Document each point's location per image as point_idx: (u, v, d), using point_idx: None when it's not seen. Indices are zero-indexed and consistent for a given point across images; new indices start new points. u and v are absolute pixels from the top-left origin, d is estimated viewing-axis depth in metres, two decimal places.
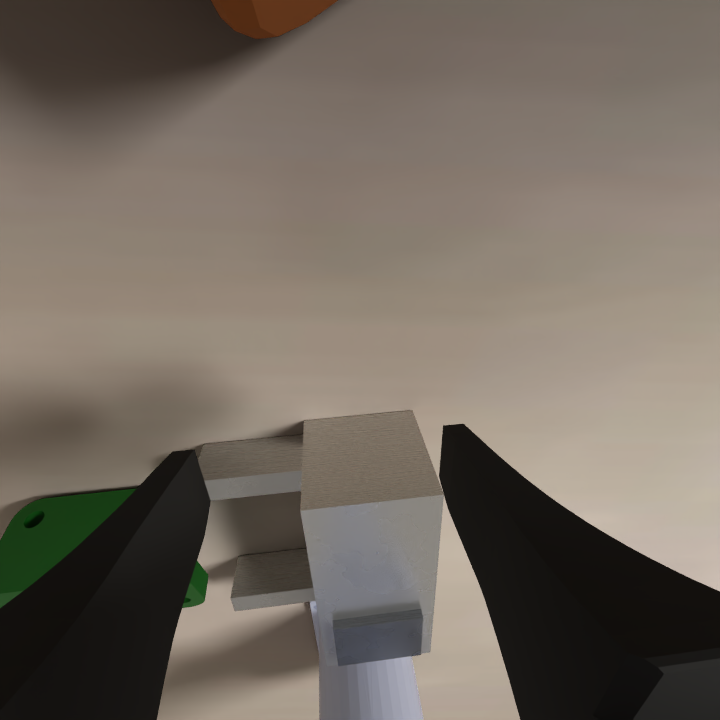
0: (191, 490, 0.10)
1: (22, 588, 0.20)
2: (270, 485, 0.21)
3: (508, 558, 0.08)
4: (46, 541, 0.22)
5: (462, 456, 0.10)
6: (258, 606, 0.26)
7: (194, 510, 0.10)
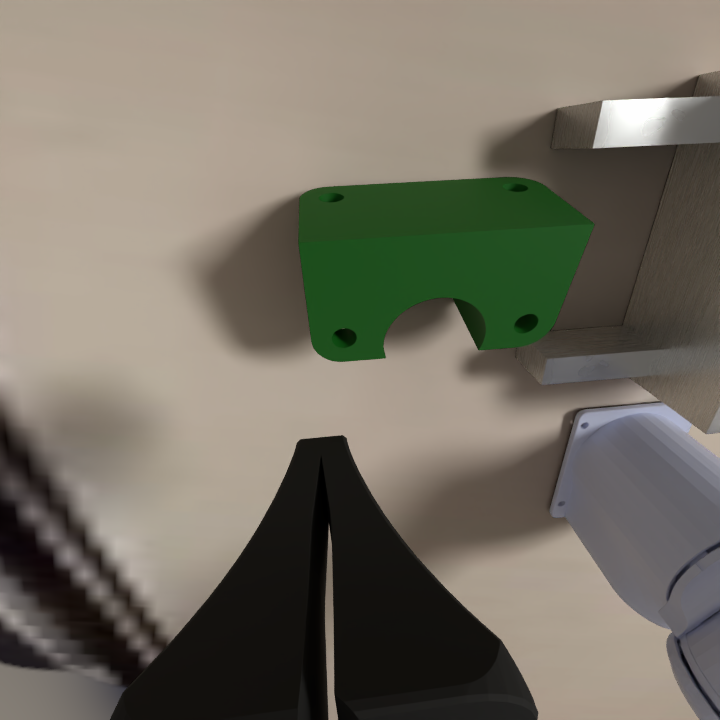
0: (324, 476, 0.11)
1: (372, 236, 0.13)
2: (701, 123, 0.15)
3: None
4: (368, 209, 0.15)
5: (323, 471, 0.10)
6: (573, 378, 0.20)
7: (325, 496, 0.11)
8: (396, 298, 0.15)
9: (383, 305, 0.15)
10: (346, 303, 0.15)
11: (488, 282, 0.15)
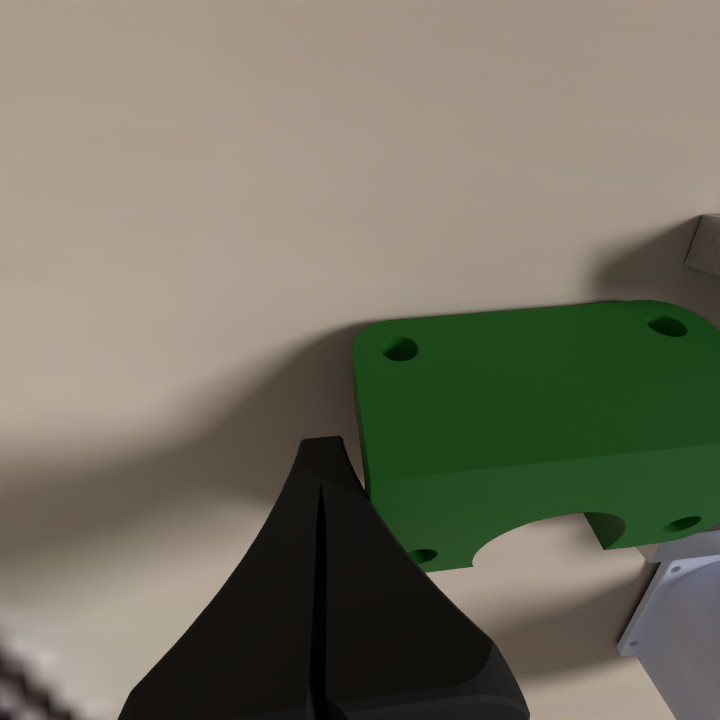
0: None
1: (490, 462, 0.08)
2: None
3: None
4: (463, 381, 0.10)
5: (319, 471, 0.10)
6: (691, 555, 0.15)
7: None
8: (508, 519, 0.10)
9: (485, 526, 0.10)
10: (431, 529, 0.10)
11: (650, 494, 0.10)
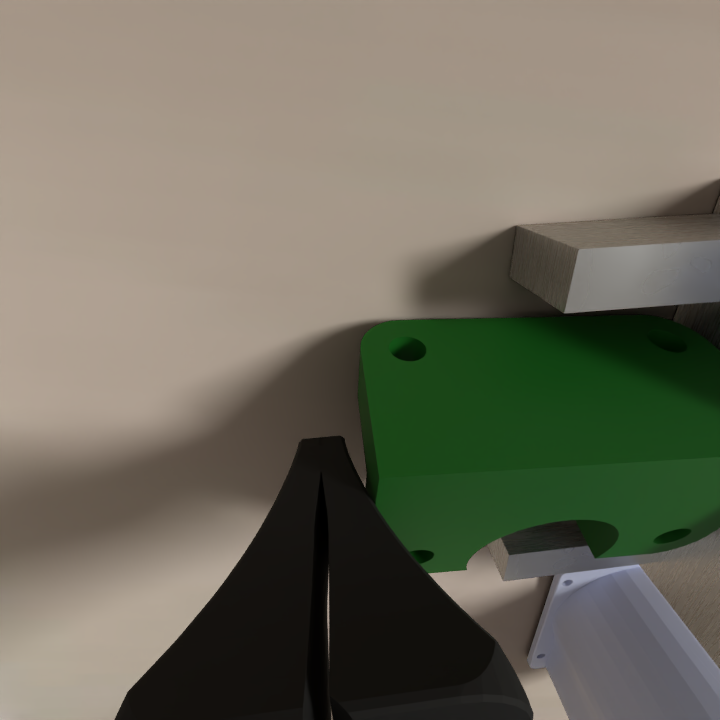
0: None
1: (498, 465, 0.08)
2: None
3: None
4: (470, 384, 0.10)
5: (321, 471, 0.10)
6: (546, 572, 0.14)
7: None
8: (507, 523, 0.10)
9: (484, 530, 0.10)
10: (431, 529, 0.10)
11: (646, 505, 0.10)
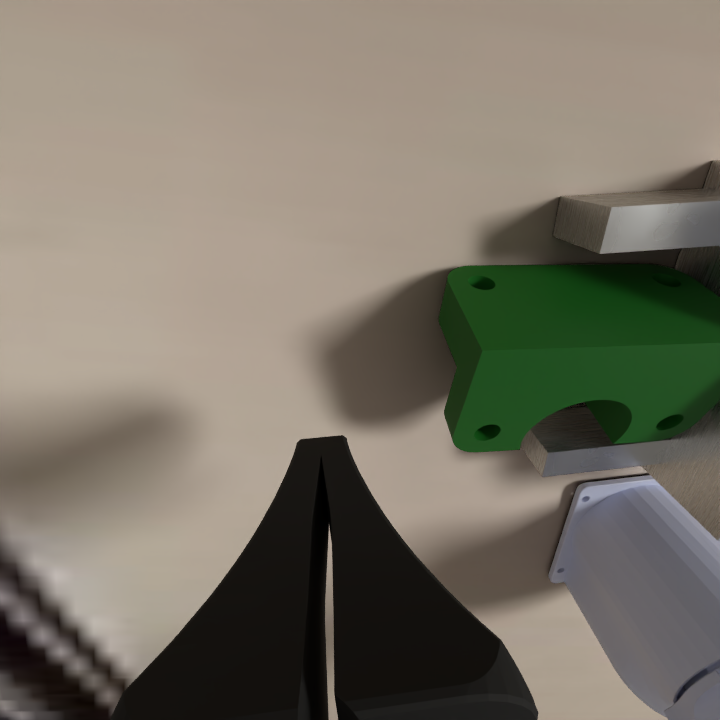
0: (324, 476, 0.11)
1: (557, 345, 0.12)
2: (717, 226, 0.13)
3: None
4: (530, 303, 0.14)
5: (323, 471, 0.10)
6: (575, 470, 0.18)
7: (325, 496, 0.11)
8: (556, 399, 0.14)
9: (539, 406, 0.14)
10: (504, 403, 0.14)
11: (652, 387, 0.14)
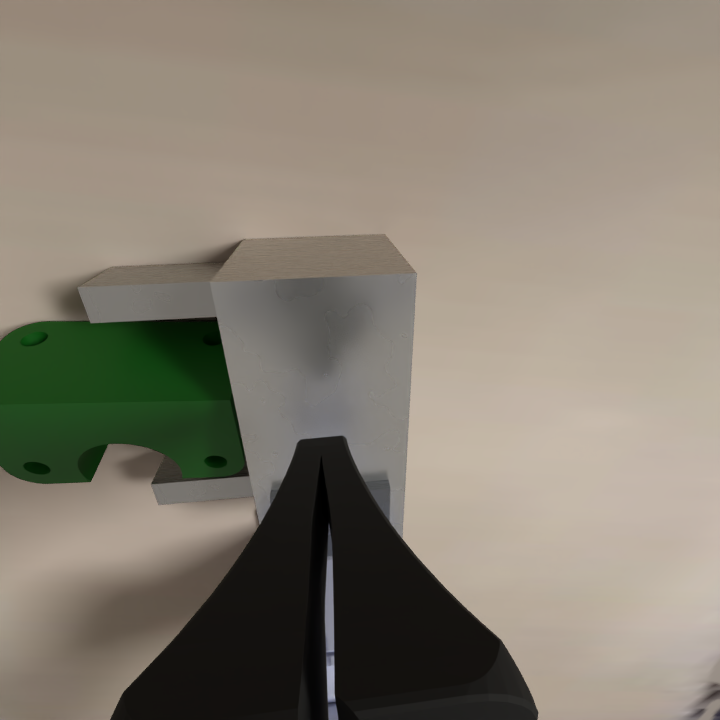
0: (324, 476, 0.11)
1: (16, 402, 0.15)
2: (190, 302, 0.16)
3: None
4: (51, 360, 0.16)
5: (323, 470, 0.10)
6: (188, 499, 0.21)
7: (325, 496, 0.11)
8: (70, 443, 0.16)
9: (60, 448, 0.17)
10: (21, 445, 0.16)
11: (155, 434, 0.17)
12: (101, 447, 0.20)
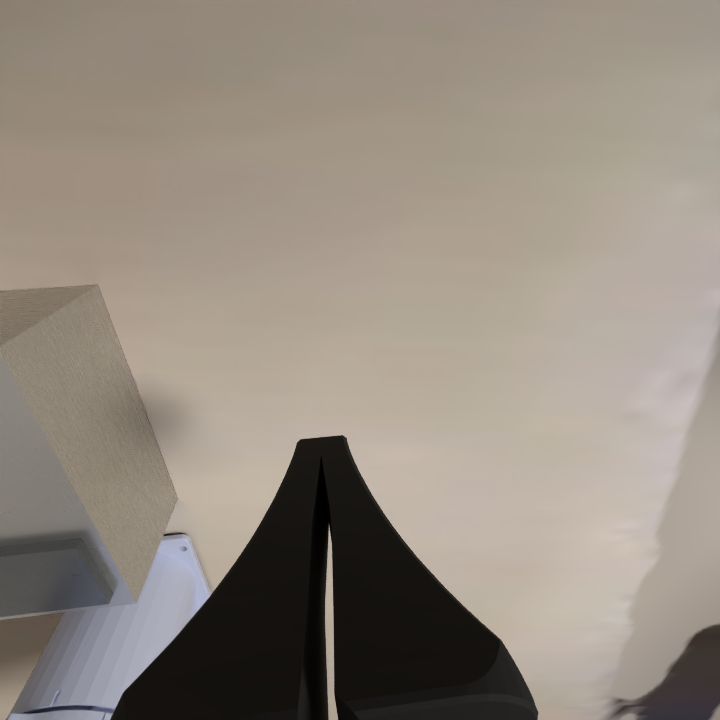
0: (323, 476, 0.11)
1: None
2: None
3: None
4: None
5: (323, 470, 0.10)
6: None
7: (325, 496, 0.11)
8: None
9: None
10: None
11: None
12: None
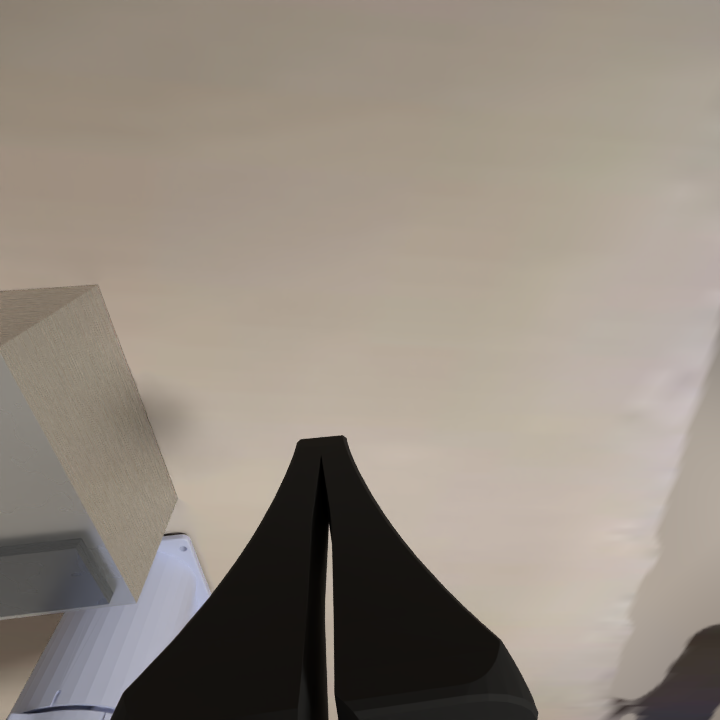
0: (323, 476, 0.11)
1: None
2: None
3: None
4: None
5: (323, 470, 0.10)
6: None
7: (325, 496, 0.11)
8: None
9: None
10: None
11: None
12: None
